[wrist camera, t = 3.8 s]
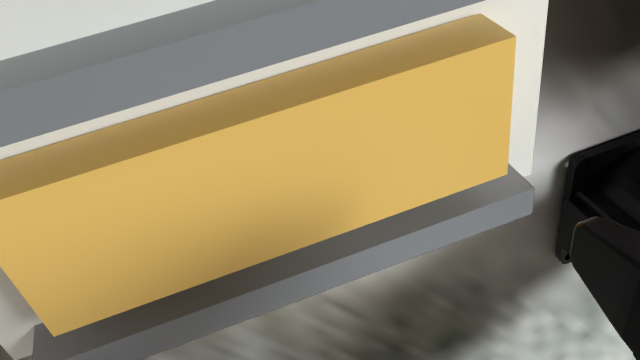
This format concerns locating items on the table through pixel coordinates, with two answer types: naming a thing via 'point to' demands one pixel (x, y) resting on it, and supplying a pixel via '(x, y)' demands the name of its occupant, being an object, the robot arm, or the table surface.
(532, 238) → the table surface
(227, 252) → the yellow rectangular block
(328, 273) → the breaker box
